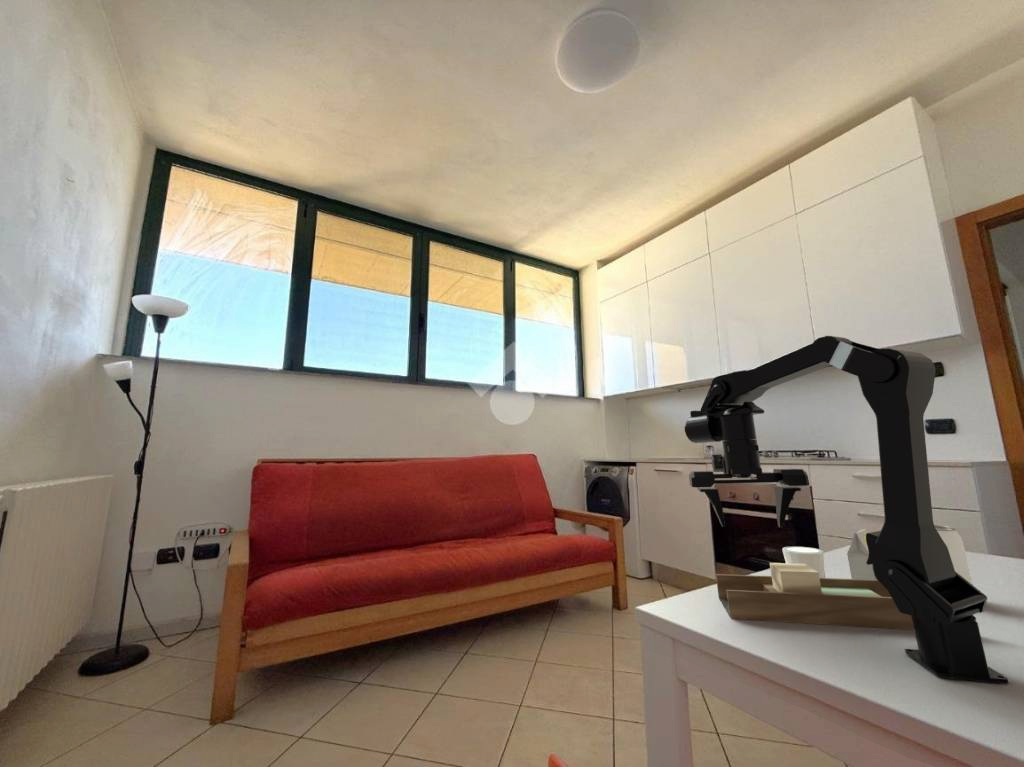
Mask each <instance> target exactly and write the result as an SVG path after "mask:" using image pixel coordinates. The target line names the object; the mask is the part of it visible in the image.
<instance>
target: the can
mask: <svg viewBox="0 0 1024 767" xmlns="http://www.w3.org/2000/svg"><path fill="white" fill-rule="evenodd" d="M934 526H935V528H936V530H937V532H938V533H939V535H940V536H941V538H942V540H943V541H944V543H945V544H946V546H947V548H948V551H949V554H950V557H951V560H952V563H953V567H954V570H955V572H957V573H958V574H959V575H960V576H962V577H963V578H964V579H965V580H967V581H968V582H969V583H970V584H972V585H973V586H974V584H973V579H972V576H971V572H970V571H971V570H970V567H969V562H968V557H967V553H966V549H965V544H964V542H963V538H962V537H961V535H960V534H959V533H958V532H957V528H955V527H953V526H946V525H935V524H934Z"/></svg>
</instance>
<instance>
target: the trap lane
mask: <svg viewBox="0 0 1024 767" xmlns="http://www.w3.org/2000/svg"><path fill="white" fill-rule="evenodd" d="M715 579H716V586H717V595H718V600H719V601H720V602H722V603H721V604H723V605H722V607H723V608H724V610H725V609H726V610H725V611H726V613H727V615H728V614H729V615H728V616H729V618H730V619H732V618H739V619H738V620H751V621H753V620H754V621H765V622H767V621H769V622H780V623H781V622H782V623H785V622H786V623H798V624H799V623H801V624H815V625H830V626H847V627H848V626H849V627H861V628H862V627H864V628H865V627H866V628H881V629H897V630H910V631H912V630H914V626H913V621H912V616H911V615H907V614H904V613H901V612H900V611H899V610H898V608H897V606H896V604H895V602H894V601H893V599H892V597H891V595H890V594H889V592H888V590H887V589H886V588H885V587H884V586H883V585H882V584H881V583H880V582H879V581H877V580H865V579H852V578H833V577H825V578H819V579H820V585H821V591H822V594H812V593H789V592H778V591H777V590H776V589H775V588H774V587H773V583H772V576H771V575H749V574H748V575H746V574H725V573H724V574H719V573H716V574H715Z"/></svg>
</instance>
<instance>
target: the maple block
mask: <svg viewBox="0 0 1024 767" xmlns="http://www.w3.org/2000/svg"><path fill="white" fill-rule="evenodd" d="M769 569H770V576H772V583H773V587H774V588H775V589H776V590H777V591H778V592H789V593H812V594H822V591H821V585H820V579H819V573H818V572H817V571H816V570H814V569H812V568H811V567H809V566H808V565H806V564H793V563H786V562H785V563H784V562H783V563H782V562H769Z"/></svg>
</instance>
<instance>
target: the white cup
mask: <svg viewBox="0 0 1024 767" xmlns="http://www.w3.org/2000/svg"><path fill="white" fill-rule="evenodd" d="M781 551H782V554H783V557H784V561H785V563H793V564H806V565H808V566H809V567H811V568H812V569H814V570H816V571H817V572H818V573H819V578H826V570H825V557H824V556H825V554H824V552H825V551H824V550H822V549H819V548H815V547H810V546H807V547H806V546H800V545H799V546H798V545H797V546H785V547H782V550H781Z"/></svg>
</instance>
